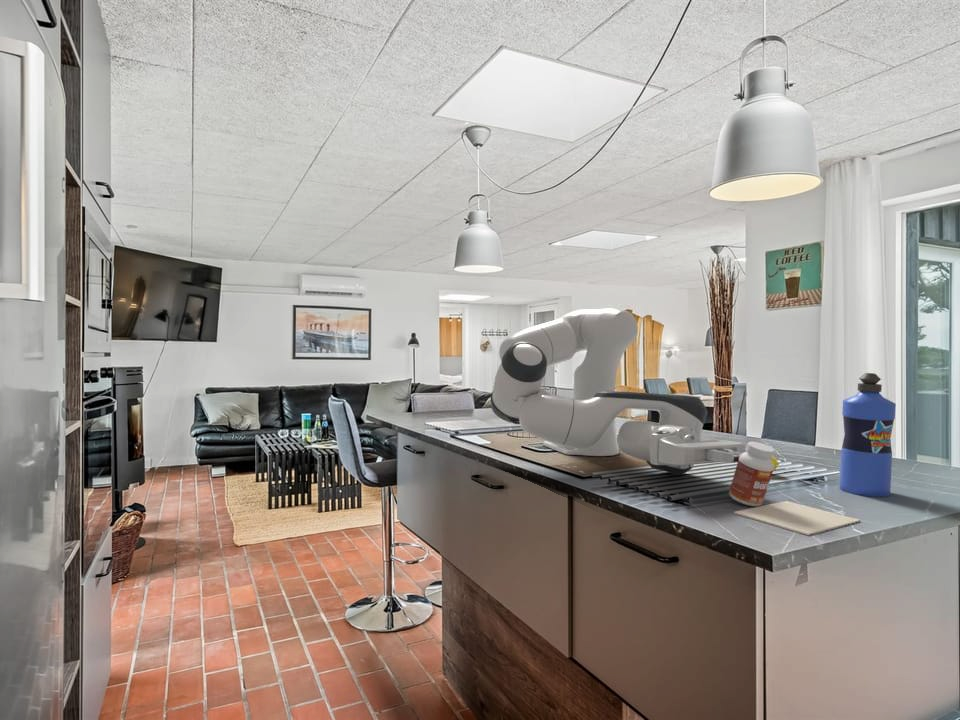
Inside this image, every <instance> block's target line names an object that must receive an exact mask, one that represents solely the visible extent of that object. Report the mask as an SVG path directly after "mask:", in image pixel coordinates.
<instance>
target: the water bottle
mask: <svg viewBox="0 0 960 720" xmlns="http://www.w3.org/2000/svg"><path fill="white" fill-rule="evenodd" d="M858 380H860V381H861V382H859V383H857V391H858V392H857V393H856V394H855V395H852V396H850V397H848V398H845V399H843V400H842V410H841V411H842V412H841V414H842V416H843V417H842V419H843V428H844V429H843V431H844V435H843V440H842V445H841V453H840V468H839V469H840V472H839V473H840V474H839V489H840V490H841V491H843V492H845V493H849V494H853V495H857V496H861V497H862V496H864V497H871V498H887V497H890V496H891V487H892V486H891V485H892V469H893V468H892V466H893V465H892V464H893V452H892V442H891V437H892V433H893V426H894V421H895V420H896V406H897V405H896V403H895V402H894V401H892V400H890V399H888V398H886V397H884V396H883V395H881V393H882V386H883V385H882V383H881V384H879V382H880V381H881V380H882V378H881V377H879V375H877V374H876V373H873V372H871V373H870V372H865V373H863V375H861V376H860V377H859V378H858Z"/></svg>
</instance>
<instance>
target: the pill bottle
mask: <svg viewBox="0 0 960 720" xmlns="http://www.w3.org/2000/svg"><path fill="white" fill-rule="evenodd" d="M774 454H775V449H774V448H773V447H772V446H770V445H767V444H765V443H761V442H758V441H749V442H747V445H746V446H745V452H744V453H742V454H741V455H740V457H739V460H738V462H737V465H736V466H735V471H734V474H733V478H732V481H731V483H730V486H729V487H730V488H729V491H728V494H729V496H730V497H731V498H732V499H733V501H736V502H737V503H738V502H739V503H740V504H743V505H746V506H749V507H750V506H751V507H759V506H763V503H764V500H765V497H766V494H767V492H768V491H767V490H768V487H769V485H770V482H771V479H772V476H773V472H774V471H773V469H774V464H773V462H772V460H770V459H771V458H772V457H773V456H774Z"/></svg>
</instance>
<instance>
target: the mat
mask: <svg viewBox="0 0 960 720" xmlns="http://www.w3.org/2000/svg"><path fill="white" fill-rule="evenodd" d="M733 514H735V515H739V516H741V517H745V518H747V519H752V520H754V521H758V522H762V523H764V524H768V525H770V526H775V527H779V528H782V529H786V530H789V531H791V532H795V533H798V534H801V533H802V534H801V535H804V534H805V535H804V536H812V535H814V534H815V535H816V534H819V533H822V532H827V531H830V530H833V529H837V528H841V527H845V525H846V526H849V525H853V524H857V523H860V522H861V519H859V518H854V517H850V516H846V515H844V514H843V515H842V514H839V513H835V512H832V511H827V510H823V509H820V508H815V507H813V506H808V505H803V504H799V503H796V502H793V501H788V500H785V501H780V502H775V503H770V504H765V505H760V506H754V507H750V508H746V509H741V510H737V511H733ZM859 521H860V522H859ZM856 522H857V523H856ZM852 523H853V524H852ZM848 524H849V525H848ZM826 530H827V531H826ZM811 534H812V535H811Z"/></svg>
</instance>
